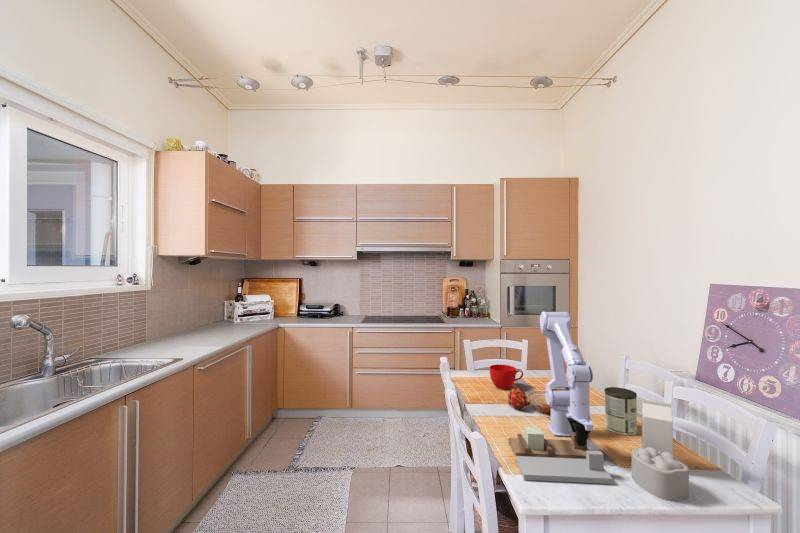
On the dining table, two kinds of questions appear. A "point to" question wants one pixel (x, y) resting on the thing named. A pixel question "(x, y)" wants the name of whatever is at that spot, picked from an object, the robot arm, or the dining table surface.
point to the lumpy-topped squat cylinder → (660, 474)
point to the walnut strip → (550, 448)
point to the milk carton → (657, 426)
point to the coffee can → (620, 410)
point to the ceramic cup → (503, 375)
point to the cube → (534, 438)
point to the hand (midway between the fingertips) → (579, 443)
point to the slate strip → (565, 469)
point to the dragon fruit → (517, 399)
